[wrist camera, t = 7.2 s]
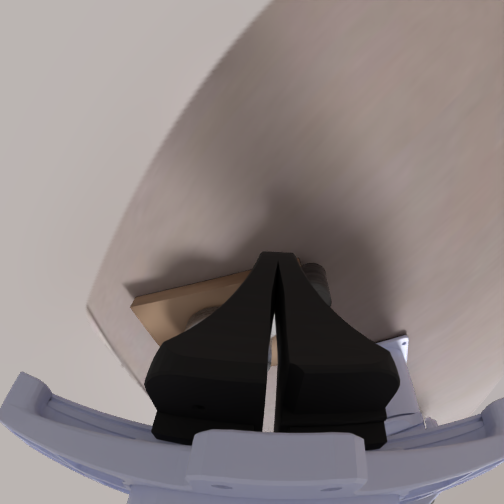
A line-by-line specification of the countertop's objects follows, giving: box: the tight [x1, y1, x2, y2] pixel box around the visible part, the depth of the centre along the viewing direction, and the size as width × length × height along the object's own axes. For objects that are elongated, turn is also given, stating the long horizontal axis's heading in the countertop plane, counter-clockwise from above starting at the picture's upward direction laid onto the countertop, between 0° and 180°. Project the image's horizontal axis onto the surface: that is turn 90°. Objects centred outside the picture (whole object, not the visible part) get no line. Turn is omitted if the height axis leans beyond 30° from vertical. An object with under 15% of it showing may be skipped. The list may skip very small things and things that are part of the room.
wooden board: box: [130, 258, 301, 366], centre depth 26 cm, size 11×16×2 cm
